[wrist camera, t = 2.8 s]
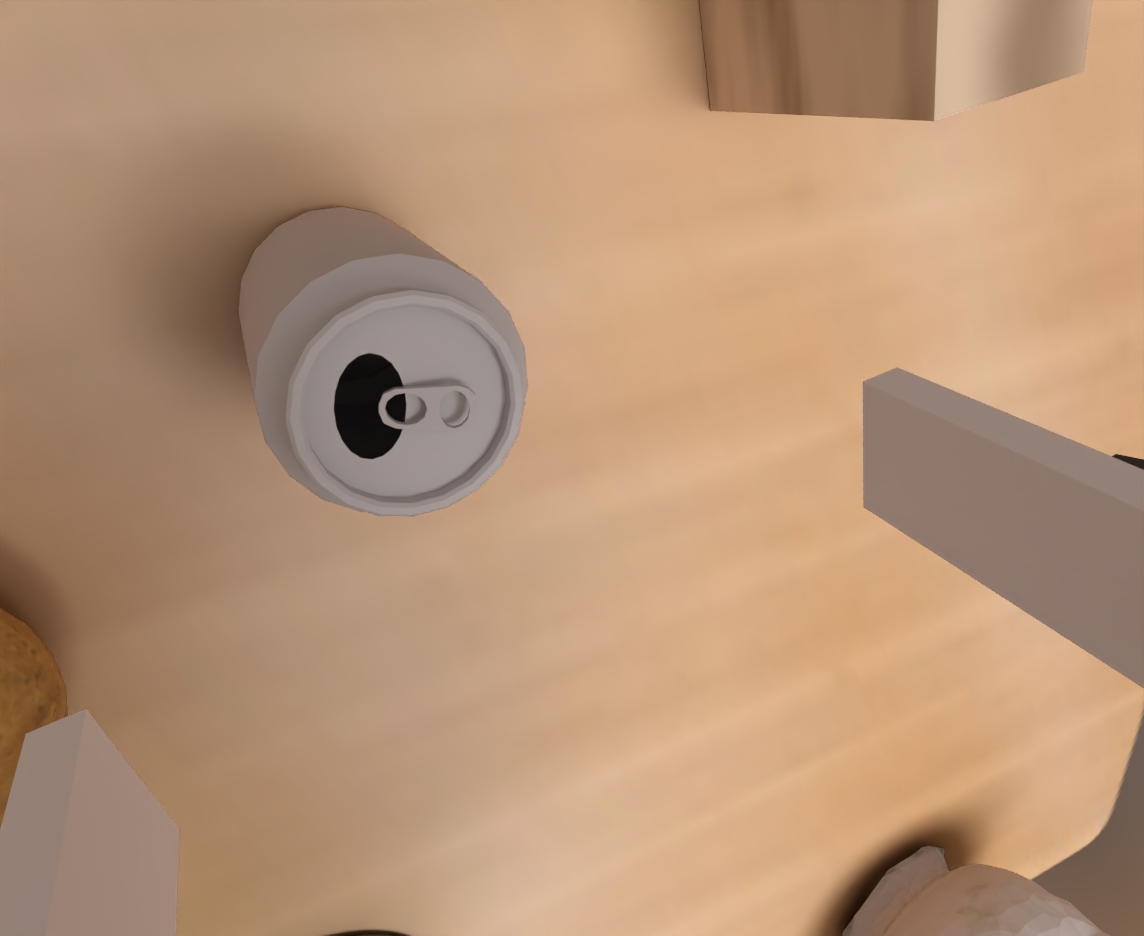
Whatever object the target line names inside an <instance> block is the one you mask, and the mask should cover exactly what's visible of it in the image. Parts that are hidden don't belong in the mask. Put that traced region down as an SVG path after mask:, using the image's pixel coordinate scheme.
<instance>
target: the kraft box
mask: <svg viewBox="0 0 1144 936" xmlns="http://www.w3.org/2000/svg"><path fill="white" fill-rule="evenodd" d="M1092 1H1093V0H699V5H700V14H701V24H702V34H703V44H704V53H705V63H706V73H707V82H708V92H709V102H710V111H727V112H749V113H771V114H793V115H815V116H836V117H858V118H880V119H902V120H924V121H936V120H939V119H942V118H945V117H948V116H951V115H954V114H957V113H960V112H963V111H966V110H969V109H972V108H975V107H978V106H981V105H984V104H987V103H990V102H993V101H996V100H999V99H1002V98H1006V97H1009V96H1012V95H1015V94H1018V93H1021V92H1024V91H1027V90H1030V89H1033V88H1036V87H1039V86H1042V85H1045V84H1048V83H1051V82H1054V81H1057V80H1060V79H1063V78H1066V77H1069V76H1072V75H1075V74H1079V73H1082V72H1084V66H1085V58H1086V50H1087V42H1088V34H1089V26H1090V17H1091V9H1092Z"/></svg>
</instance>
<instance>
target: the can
mask: <svg viewBox="0 0 1144 936" xmlns="http://www.w3.org/2000/svg"><path fill="white" fill-rule="evenodd" d="M239 318H240V324H241V329H242V335H243V340H244V346H245V352H246V357H247V363H248V368H249V374H250V380H251V385H252V391H253V396H254V402H255V405H256V409H257V413H258V416H259V420H260V423H261V427H262V431H263V434H264V438H265V442H266V443H267V445H268V446H269V447H270V449H271V450H272V452H273V453H274V454H275V456H276V457H277V459H278V460H279V461H280V463H281V464H282V466H283V467H284V469H285V470H286V471H287V473H288V474H289V476H291V477H292V478H293V479H295V480H296V481H298V482H299V483H300V484H302V485H303V486H305V487H306V488H307V489H309V490H310V491H312V492H313V493H314V494H316V495H317V496H319V497H320V498H321V499H323V500H326V501H329V502H332V503H335V504H338V505H341V506H344V507H348V508H351V509H354V510H357V511H360V512H368V513H371V514H374V515H377V516H416V515H420V514H424V513H428V512H431V511H435V510H439V509H443V508H447V507H449V506H450V505H452V504H454V503H456V502H457V501H459V500H461V499H462V498H464V497H466V496H468V495H469V494H471V493H473V492H475V491H476V490H478V489H479V488H480V487H481V486H482V485H483V484H484V483H485V482H486V481H487V480H488V479H489V478H490V477H491V476H492V475H493V474H494V473H495V472H496V471H497V470H498V469H499V468H500V467H501V466H502V464H503V462H504V460H505V458H506V457H507V455H508V453H509V451H510V449H511V447H512V446H513V444H514V442H515V440H516V438H517V437H518V433H519V429H520V424H521V419H522V415H523V410H524V405H525V397H526V392H527V387H528V380H527V370H526V359H525V349H524V345H523V343H522V341H521V338H520V336H519V334H518V332H517V329H516V327H515V325H514V323H513V320H512V318H511V316H510V314H509V311H508V310H507V309H506V308H505V307H504V306H503V305H502V304H501V303H500V302H499V300H498V299H497V298H496V297H495V296H494V295H493V294H492V293H491V292H490V291H489V290H488V289H487V287H486V286H485V285H484V284H483V283H482V282H481V281H480V280H478V279H477V278H475V277H474V276H472V275H471V274H469V273H468V272H466V271H465V270H464V269H462V268H461V267H459V266H458V265H456V264H455V263H453V262H452V261H450V260H449V259H448V258H446V257H445V256H443V255H442V254H440V253H439V252H437V251H436V250H434V249H433V248H432V247H430V246H429V245H427V244H426V243H424V242H423V241H421V240H420V239H418V238H417V237H416V236H414V235H413V234H411V233H410V232H408V231H407V230H405V229H404V228H402V227H400V226H398V225H396V224H395V223H393V222H391V221H389V220H387V219H386V218H384V217H382V216H380V215H378V214H376V213H372V212H367V211H362V210H357V209H352V208H347V207H336V208H328V209H320V210H312V211H308V212H306V213H304V214H302V215H300V216H297V217H295V218H293V219H291V220H289V221H287V222H285V223H283V224H281V225H279V226H278V227H277V228H276V229H275V230H274V231H273V232H272V233H271V234H270V235H269V236H268V237H267V238H266V239H265V240H264V241H263V242H262V243H261V244H260V245H259V246H258V247H257V248H256V249H255V251H254V253H253V255H252V257H251V259H250V262H249V264H248V266H247V268H246V270H245V273H244V275H243V277H242V279H241V288H240V301H239Z"/></svg>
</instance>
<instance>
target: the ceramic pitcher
mask: <svg viewBox="0 0 1144 936" xmlns="http://www.w3.org/2000/svg"><path fill="white" fill-rule="evenodd" d="M944 853H945V849H944V848H939V847H932V846H924V847H922V848H920V849H919V850H918V851H917V852H916V853H914V854H913V855H911V856H910V857H908V858H906V859H905V860H903V861H902V862H900V863H898V864H897V865H895V866H894V867H892V868H890V869H889V870H888V871H887V872H886V873H885V875H884V876H883V877H882V879H881V880H880V882H879V883H878V885H877V886H876V887H875V889H874V890H873V892H872V893H871V894H870V896H869V897H868V898H867V900H866V901H865V903H864V904H863V905H862V907H861V908H860V910H859V911H858V912H857V913H856V915H855V916H854V917H853V919H852V920H851V922H850V923H849V924H848V926H847V927H846V929H845V930H844V931H843V934H842V936H1110V935H1108V934H1106V933H1103V932H1102V931H1101V930H1099V929H1098V928H1097V927H1096V926H1095V925H1094V924H1093V923H1092V922H1090V921H1089V920H1088V919H1087V918H1085V917H1084V916H1083V915H1082V914H1081V913H1080V912H1079V911H1078V910H1077V909H1076V908H1075V907H1074V906H1073V905H1072V904H1071V903H1069V901H1066V900H1063V899H1061V898H1058V897H1055V896H1053V895H1052V894H1050V893H1049V892H1047V891H1046V890H1044V889H1043V888H1042V887H1041V886H1039V885H1038V884H1037V883H1035V882H1033V881H1031V880H1029V879H1027V878H1025V877H1023V876H1021V875H1019V874H1017V873H1014V872H1011V871H1008V870H1006V869H1001V868H997V867H993V866H988V865H982V864H970V865H965V866H962V867H959V868H956V869H954V870H952V871H949V870H948V867H947V865H946V862H945V860H944Z"/></svg>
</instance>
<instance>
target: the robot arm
mask: <svg viewBox="0 0 1144 936" xmlns="http://www.w3.org/2000/svg"><path fill="white" fill-rule="evenodd" d="M863 502H864V508H866V509H867V510H869V511H870V512H872V513H873V514H875V515H877V516H878V517H880V518H881V519H883V520H884V521H886V522H887V523H889V524H890V525H892V526H894V527H895V528H897V529H898V530H900V531H901V532H903V533H904V534H906V535H907V536H909V537H911V538H912V539H914V540H915V541H917V542H918V543H920V544H921V545H923V546H924V547H926V548H928V549H929V550H931V551H932V552H934V553H935V554H937V555H938V556H940V557H941V558H943V559H945V560H946V561H948V562H949V563H951V564H952V565H954V566H955V567H957V568H958V569H960V570H962V571H963V572H965V573H966V574H968V575H969V576H971V577H972V578H974V579H975V580H977V581H979V582H980V583H982V584H983V585H985V586H986V587H988V588H989V589H991V590H992V591H994V592H996V593H997V594H999V595H1000V596H1002V597H1003V598H1005V599H1006V600H1008V601H1009V602H1011V603H1013V604H1014V605H1016V606H1017V607H1019V608H1020V609H1022V610H1023V611H1025V612H1026V613H1028V614H1030V615H1031V616H1033V617H1034V618H1036V619H1037V620H1039V621H1040V622H1042V623H1043V624H1045V625H1047V626H1048V627H1050V628H1051V629H1053V630H1054V631H1056V632H1057V633H1059V634H1060V635H1062V636H1064V637H1065V638H1067V639H1068V640H1070V641H1071V642H1073V643H1074V644H1076V645H1077V646H1079V647H1081V648H1082V649H1084V650H1085V651H1087V652H1088V653H1090V654H1091V655H1093V656H1094V657H1096V658H1098V659H1099V660H1101V661H1102V662H1104V663H1105V664H1107V665H1108V666H1110V667H1111V668H1113V669H1115V670H1116V671H1118V672H1119V673H1121V674H1122V675H1124V676H1125V677H1127V678H1128V679H1130V680H1132V681H1133V682H1135V683H1136V684H1138V685H1139V686H1141V687H1142V688H1144V460H1143V459H1138V458H1133V457H1128V456H1123V455H1118V454H1116V455H1114V456H1109V455H1107V454H1104V453H1102V452H1100V451H1097V450H1095V449H1092V448H1090V447H1087V446H1085V445H1083V444H1080V443H1078V442H1075V441H1073V440H1071V439H1068V438H1066V437H1063V436H1061V435H1059V434H1056V433H1054V432H1051V431H1049V430H1047V429H1044V428H1042V427H1039V426H1037V425H1034V424H1032V423H1030V422H1027V421H1025V420H1022V419H1020V418H1018V417H1015V416H1013V415H1010V414H1008V413H1006V412H1003V411H1001V410H998V409H996V408H994V407H991V406H989V405H986V404H984V403H982V402H979V401H977V400H974V399H972V398H969V397H967V396H965V395H962V394H960V393H957V392H955V391H953V390H950V389H948V388H945V387H943V386H941V385H938V384H936V383H933V382H931V381H929V380H926V379H924V378H921V377H919V376H916V375H914V374H912V373H909V372H907V371H904V370H902V369H900V368H895V369H892V370H890V371H887V372H885V373H883V374H880V375H878V376H876V377H873V378H871V379H868V380H866V381H864V382H863ZM178 860H179V828H178V826H177V825H176V824H175V822H174V821H173V820H172V818H171V817H170V816H169V815H168V813H167V812H166V811H165V809H164V808H163V807H162V806H161V804H160V803H159V802H158V800H157V799H156V798H155V797H154V795H153V794H152V793H151V791H150V790H149V789H148V788H147V786H146V785H145V784H144V782H143V781H142V780H141V779H140V777H139V776H138V775H137V773H136V772H135V771H134V770H133V768H132V767H131V766H130V764H129V763H128V762H127V760H126V759H125V758H124V757H123V755H122V754H121V753H120V751H119V750H118V749H117V748H116V746H115V745H114V744H113V742H112V741H111V740H110V739H109V737H108V736H107V735H106V733H105V732H104V731H103V730H102V728H101V727H100V726H99V724H98V723H97V722H96V721H95V719H94V718H93V717H92V715H91V714H90V713H89V712H88V710H87V709H84V710H81V711H79V712H76V713H74V714H72V715H69V716H67V717H65V718H62V719H60V720H57V721H55V722H53V723H50V724H48V725H46V726H43V727H41V728H38V729H36V730H34V731H31V732H29V733H27V734H26V735H25V739H24V742H23V746H22V750H21V754H20V757H19V761H18V765H17V768H16V772H15V776H14V780H13V783H12V787H11V791H10V795H9V798H8V802H7V806H6V810H5V813H4V817H3V821H2V825H1V828H0V936H176V929H177V895H178ZM358 936H392V935H358Z"/></svg>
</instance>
